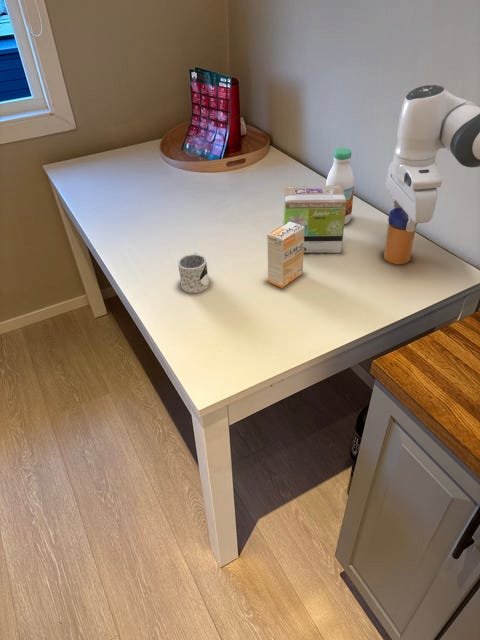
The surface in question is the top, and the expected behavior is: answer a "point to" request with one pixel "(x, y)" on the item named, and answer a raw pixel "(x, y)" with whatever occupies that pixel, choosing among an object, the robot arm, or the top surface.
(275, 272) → the supplement box
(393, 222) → the lid
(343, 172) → the milk bottle
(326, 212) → the tea box
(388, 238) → the jar
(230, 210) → the top surface
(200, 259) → the mug
